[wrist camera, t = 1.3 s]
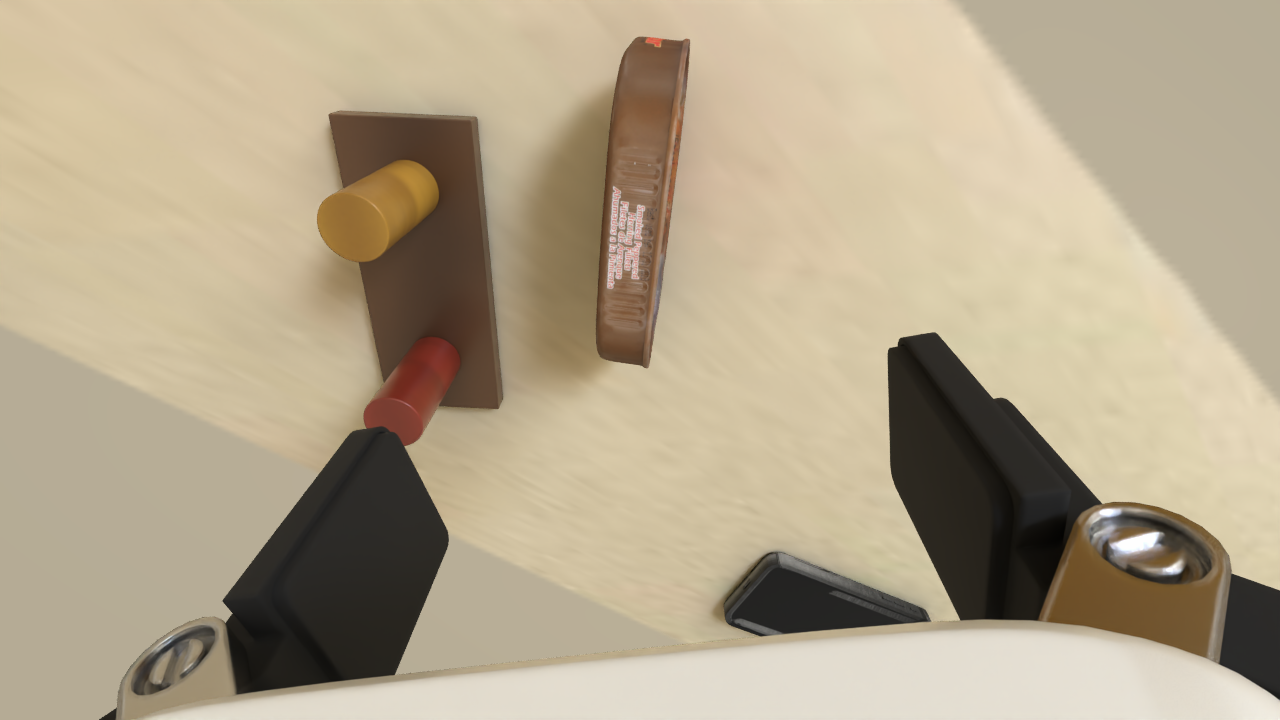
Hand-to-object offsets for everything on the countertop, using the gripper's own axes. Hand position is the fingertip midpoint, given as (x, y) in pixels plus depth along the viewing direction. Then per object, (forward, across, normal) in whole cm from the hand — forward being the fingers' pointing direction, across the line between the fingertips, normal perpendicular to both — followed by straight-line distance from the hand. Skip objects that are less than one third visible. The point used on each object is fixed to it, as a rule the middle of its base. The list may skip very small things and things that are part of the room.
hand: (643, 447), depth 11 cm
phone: (+23, -6, +36) cm, 43 cm away
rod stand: (+23, +14, +3) cm, 27 cm away
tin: (+23, +1, +1) cm, 23 cm away
